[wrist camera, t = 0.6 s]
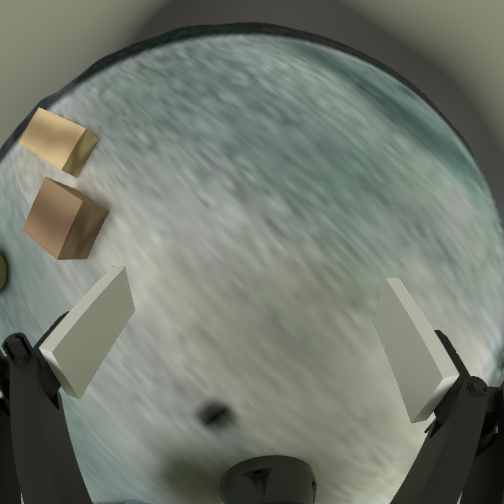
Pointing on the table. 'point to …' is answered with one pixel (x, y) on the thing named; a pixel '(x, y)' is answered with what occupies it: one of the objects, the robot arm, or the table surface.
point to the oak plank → (58, 141)
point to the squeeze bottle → (2, 272)
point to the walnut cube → (64, 221)
